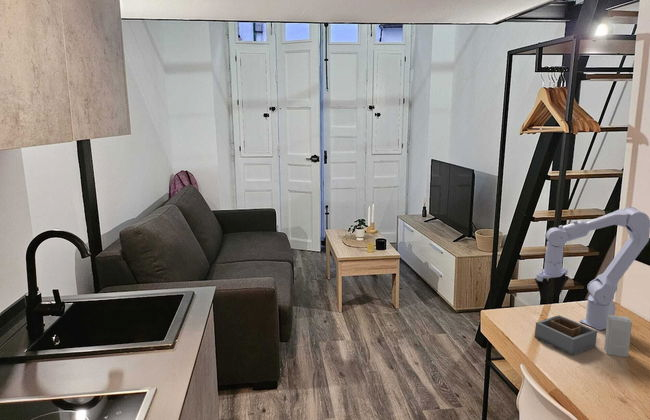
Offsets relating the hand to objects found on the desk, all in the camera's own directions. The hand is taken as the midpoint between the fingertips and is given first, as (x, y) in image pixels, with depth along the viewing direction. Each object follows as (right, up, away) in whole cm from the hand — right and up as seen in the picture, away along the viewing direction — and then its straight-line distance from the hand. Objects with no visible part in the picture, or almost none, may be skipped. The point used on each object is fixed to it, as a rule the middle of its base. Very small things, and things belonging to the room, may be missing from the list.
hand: (550, 295), depth 173 cm
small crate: (-2, -12, -15) cm, 19 cm away
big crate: (-2, -13, -15) cm, 20 cm away
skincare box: (+10, -15, -22) cm, 28 cm away
